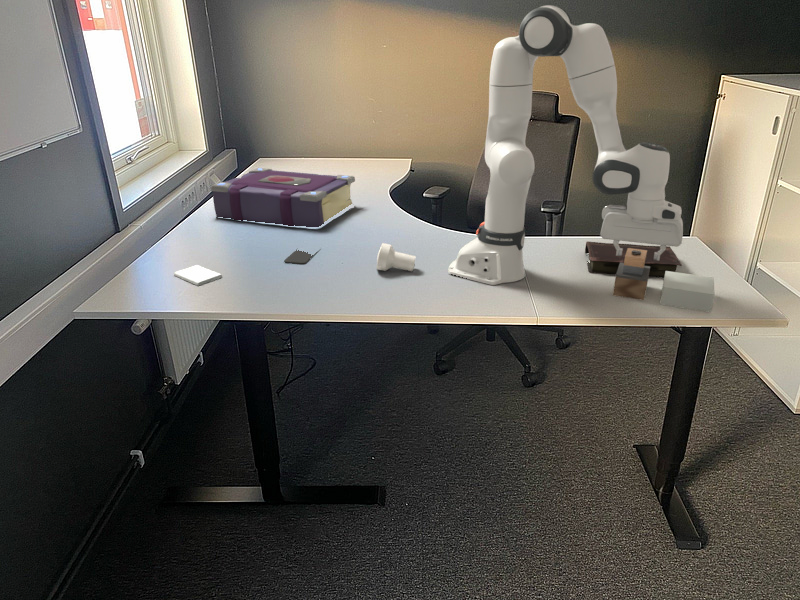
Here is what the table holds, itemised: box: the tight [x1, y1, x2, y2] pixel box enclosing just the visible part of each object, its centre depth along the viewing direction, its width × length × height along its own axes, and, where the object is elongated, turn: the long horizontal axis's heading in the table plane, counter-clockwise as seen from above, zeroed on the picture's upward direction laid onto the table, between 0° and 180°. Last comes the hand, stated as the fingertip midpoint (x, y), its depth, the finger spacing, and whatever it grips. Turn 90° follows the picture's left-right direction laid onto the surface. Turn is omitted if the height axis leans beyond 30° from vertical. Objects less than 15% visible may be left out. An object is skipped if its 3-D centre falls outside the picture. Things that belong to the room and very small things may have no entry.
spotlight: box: [376, 242, 417, 272], centre depth 181 cm, size 8×11×8 cm
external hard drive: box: [173, 264, 223, 287], centre depth 179 cm, size 2×8×12 cm
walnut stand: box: [612, 262, 650, 301], centre depth 166 cm, size 8×10×6 cm
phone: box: [283, 249, 313, 265], centre depth 194 cm, size 7×1×15 cm
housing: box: [622, 248, 647, 276], centre depth 163 cm, size 5×7×5 cm
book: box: [210, 167, 356, 227], centre depth 234 cm, size 33×45×14 cm
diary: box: [584, 241, 682, 279], centre depth 184 cm, size 19×25×5 cm
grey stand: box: [659, 271, 716, 313], centre depth 161 cm, size 12×12×5 cm
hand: (637, 257), depth 163 cm, fingers open, 8 cm apart
